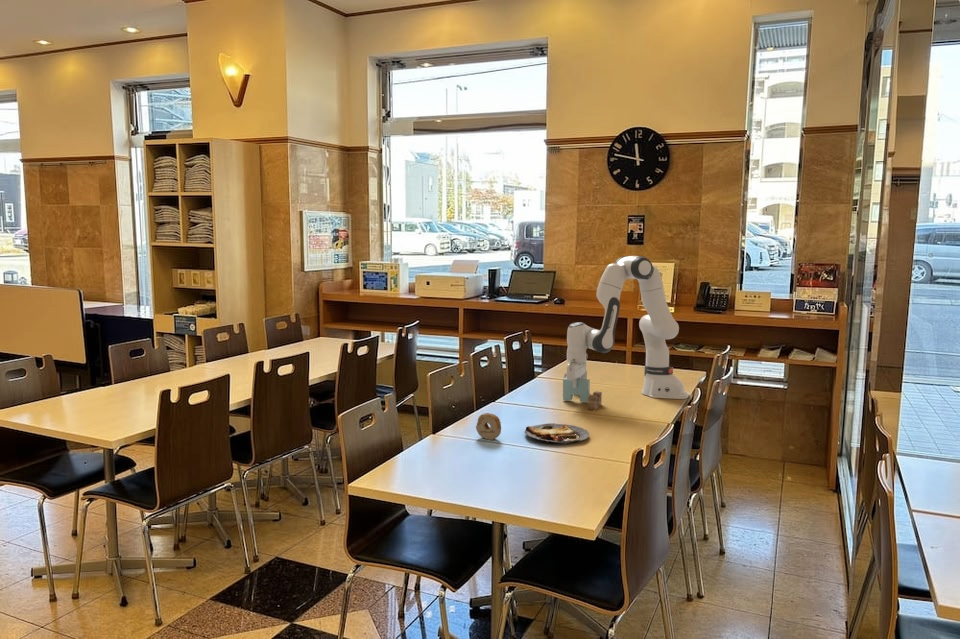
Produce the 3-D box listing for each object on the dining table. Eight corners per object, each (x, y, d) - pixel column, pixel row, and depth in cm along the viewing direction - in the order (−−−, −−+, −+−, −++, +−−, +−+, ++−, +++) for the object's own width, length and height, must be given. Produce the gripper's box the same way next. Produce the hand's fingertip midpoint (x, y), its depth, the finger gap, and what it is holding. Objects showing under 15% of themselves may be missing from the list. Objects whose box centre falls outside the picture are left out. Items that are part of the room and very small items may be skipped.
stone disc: (503, 439, 266) (503, 414, 265) (497, 441, 263) (498, 416, 262) (480, 435, 272) (480, 410, 270) (475, 437, 269) (475, 412, 267)
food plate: (536, 447, 255) (536, 438, 255) (516, 431, 278) (516, 422, 277) (598, 444, 262) (598, 435, 262) (574, 428, 284) (574, 419, 284)
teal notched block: (589, 400, 324) (589, 379, 323) (587, 402, 321) (587, 381, 320) (564, 398, 329) (564, 377, 328) (562, 399, 326) (562, 379, 325)
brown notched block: (595, 403, 321) (595, 391, 320) (601, 404, 320) (601, 391, 319) (588, 409, 310) (588, 396, 310) (594, 410, 309) (595, 397, 308)
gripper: (576, 361, 312) (576, 391, 313) (588, 354, 330) (588, 382, 332) (563, 360, 314) (563, 390, 316) (575, 353, 333) (575, 381, 335)
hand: (576, 386), depth 324 cm, fingers closed on teal notched block, 3 cm apart
